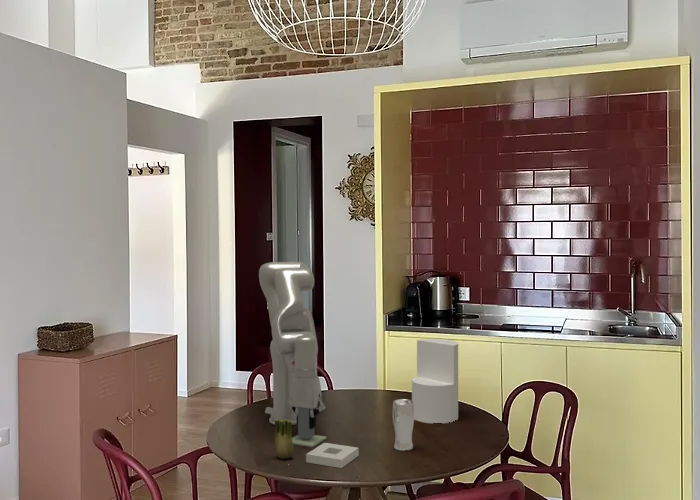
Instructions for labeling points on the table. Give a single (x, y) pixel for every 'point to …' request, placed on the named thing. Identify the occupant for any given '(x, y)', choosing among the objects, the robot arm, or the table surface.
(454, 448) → the table surface
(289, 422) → the fennel bulb
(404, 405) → the beer glass
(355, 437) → the table surface
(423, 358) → the grey stepped cylindrical piece
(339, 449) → the white square hole board
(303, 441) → the sage mat
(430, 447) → the table surface
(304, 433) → the slate plug
